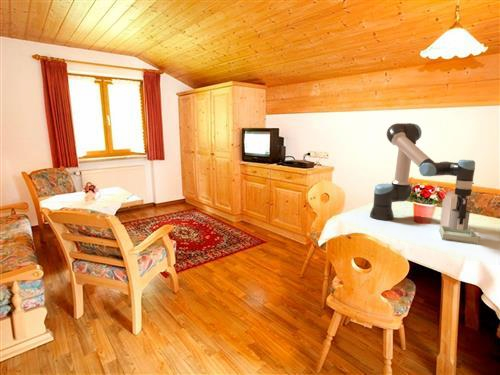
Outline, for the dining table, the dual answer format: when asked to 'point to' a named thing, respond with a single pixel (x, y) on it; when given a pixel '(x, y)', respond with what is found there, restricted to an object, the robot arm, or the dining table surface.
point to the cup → (455, 220)
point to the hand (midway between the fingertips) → (458, 227)
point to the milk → (448, 207)
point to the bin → (458, 235)
